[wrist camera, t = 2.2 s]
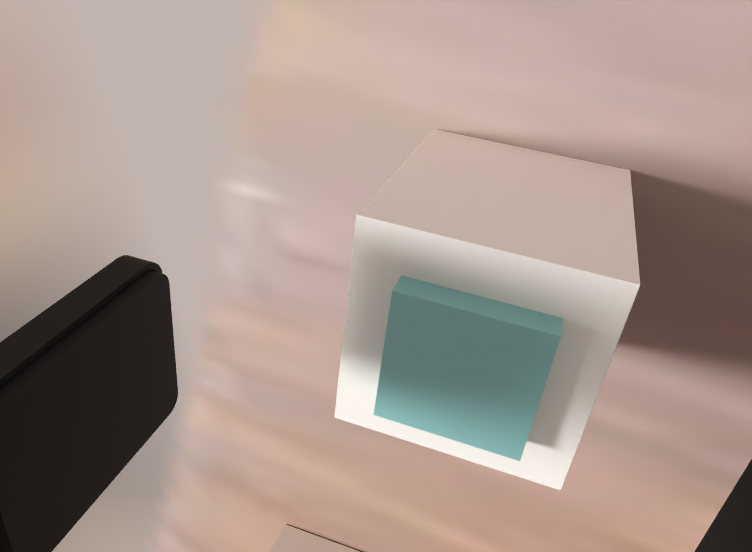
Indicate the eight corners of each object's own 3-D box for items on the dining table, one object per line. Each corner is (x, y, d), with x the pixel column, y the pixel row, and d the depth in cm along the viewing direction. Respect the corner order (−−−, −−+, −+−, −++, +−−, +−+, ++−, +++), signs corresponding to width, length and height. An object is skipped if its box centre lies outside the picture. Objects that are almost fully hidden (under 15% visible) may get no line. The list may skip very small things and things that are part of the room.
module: (573, 334, 18) (558, 512, 12) (406, 289, 19) (324, 435, 13) (629, 169, 15) (641, 302, 10) (433, 128, 16) (344, 227, 11)
